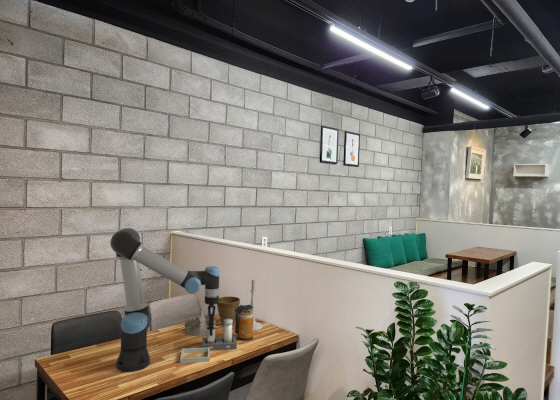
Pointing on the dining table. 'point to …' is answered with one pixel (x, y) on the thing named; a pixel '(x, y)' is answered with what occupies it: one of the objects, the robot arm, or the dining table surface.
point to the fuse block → (220, 344)
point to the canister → (244, 322)
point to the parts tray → (195, 359)
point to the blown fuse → (208, 330)
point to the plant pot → (227, 308)
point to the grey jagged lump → (197, 325)
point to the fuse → (228, 330)
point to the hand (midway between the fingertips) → (210, 338)
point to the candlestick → (256, 325)
